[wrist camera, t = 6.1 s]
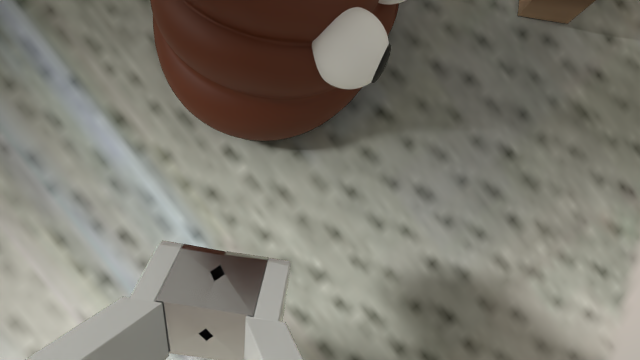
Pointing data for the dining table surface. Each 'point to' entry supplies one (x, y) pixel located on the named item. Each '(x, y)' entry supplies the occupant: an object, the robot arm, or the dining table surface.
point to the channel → (553, 9)
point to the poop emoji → (270, 59)
